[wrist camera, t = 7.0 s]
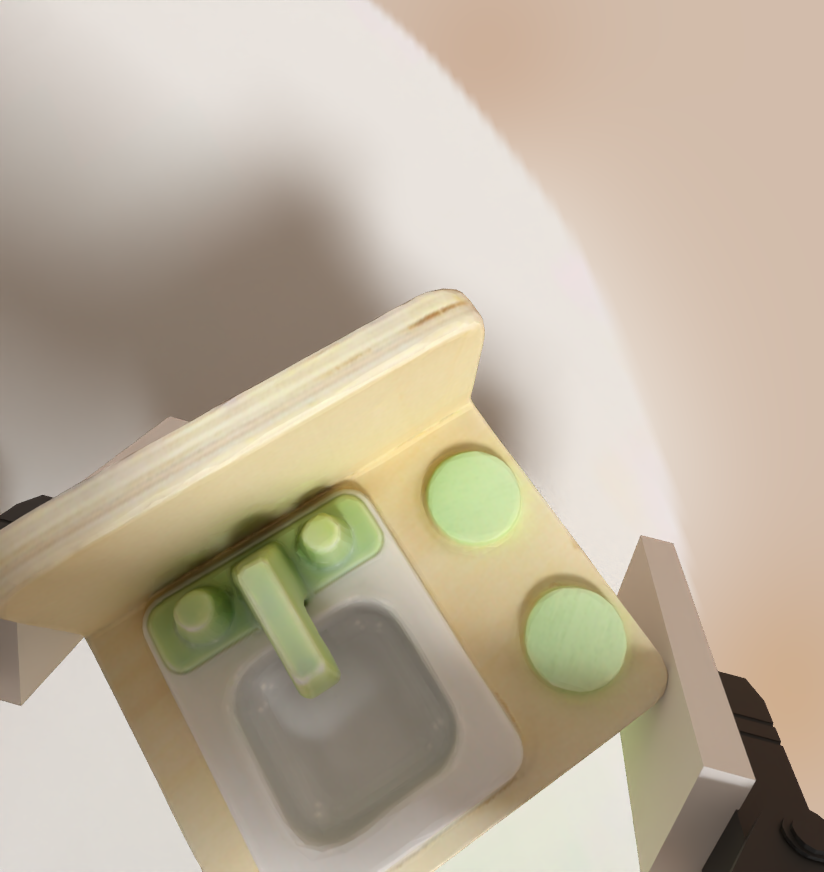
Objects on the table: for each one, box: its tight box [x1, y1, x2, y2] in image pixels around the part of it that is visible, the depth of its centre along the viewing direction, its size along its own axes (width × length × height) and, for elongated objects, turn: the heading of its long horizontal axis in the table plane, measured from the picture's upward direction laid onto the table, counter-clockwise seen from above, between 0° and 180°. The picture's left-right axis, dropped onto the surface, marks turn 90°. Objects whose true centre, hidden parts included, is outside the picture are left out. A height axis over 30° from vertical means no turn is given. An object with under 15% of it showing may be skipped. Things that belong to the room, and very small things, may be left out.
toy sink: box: [0, 289, 668, 872], centre depth 15 cm, size 8×7×13 cm
